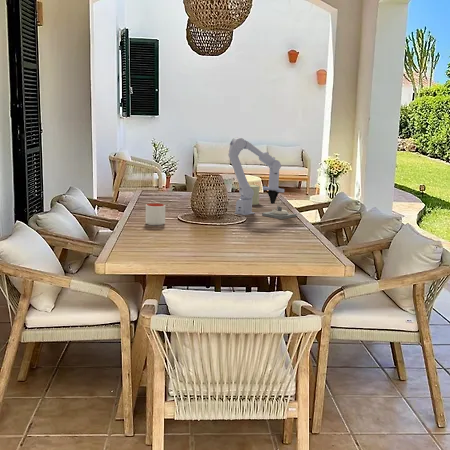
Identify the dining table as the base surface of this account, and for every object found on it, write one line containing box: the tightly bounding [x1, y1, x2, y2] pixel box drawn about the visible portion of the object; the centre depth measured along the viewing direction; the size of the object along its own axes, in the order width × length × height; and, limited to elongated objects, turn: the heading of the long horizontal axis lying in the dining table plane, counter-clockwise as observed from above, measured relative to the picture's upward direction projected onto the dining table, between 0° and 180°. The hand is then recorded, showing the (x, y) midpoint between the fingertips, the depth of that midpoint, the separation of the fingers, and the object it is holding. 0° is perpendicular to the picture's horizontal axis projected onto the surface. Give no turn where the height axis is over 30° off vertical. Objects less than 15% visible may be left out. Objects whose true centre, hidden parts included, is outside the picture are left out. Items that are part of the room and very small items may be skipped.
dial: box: [271, 205, 288, 215], centre depth 349 cm, size 11×9×4 cm
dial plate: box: [261, 210, 297, 220], centre depth 349 cm, size 14×14×2 cm
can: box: [249, 184, 260, 206], centre depth 389 cm, size 9×9×12 cm
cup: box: [145, 202, 166, 226], centre depth 310 cm, size 10×10×10 cm
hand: (272, 203), depth 355 cm, fingers closed
